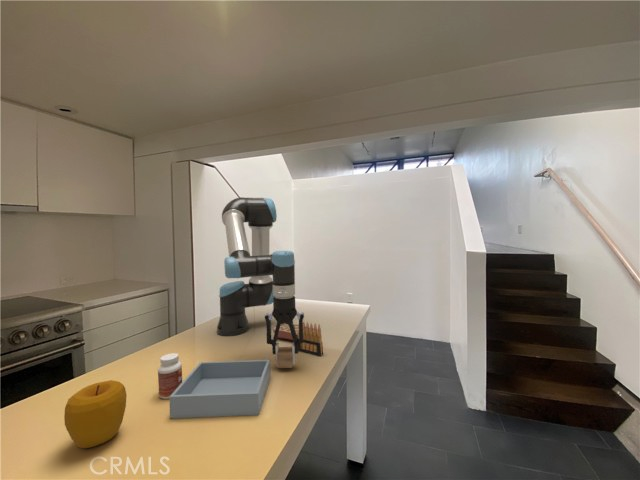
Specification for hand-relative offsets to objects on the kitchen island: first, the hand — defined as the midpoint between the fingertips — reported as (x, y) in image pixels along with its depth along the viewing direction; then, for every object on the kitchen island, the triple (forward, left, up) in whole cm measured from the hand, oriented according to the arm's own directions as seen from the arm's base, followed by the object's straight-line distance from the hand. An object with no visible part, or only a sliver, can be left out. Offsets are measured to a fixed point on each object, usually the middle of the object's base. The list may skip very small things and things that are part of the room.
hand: (285, 362), depth 93 cm
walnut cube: (0, 0, -1) cm, 1 cm away
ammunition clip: (-11, +8, -2) cm, 14 cm away
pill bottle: (+13, -33, -2) cm, 35 cm away
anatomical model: (-25, +2, -2) cm, 25 cm away
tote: (+15, -16, -2) cm, 22 cm away
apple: (+31, -40, -2) cm, 50 cm away
